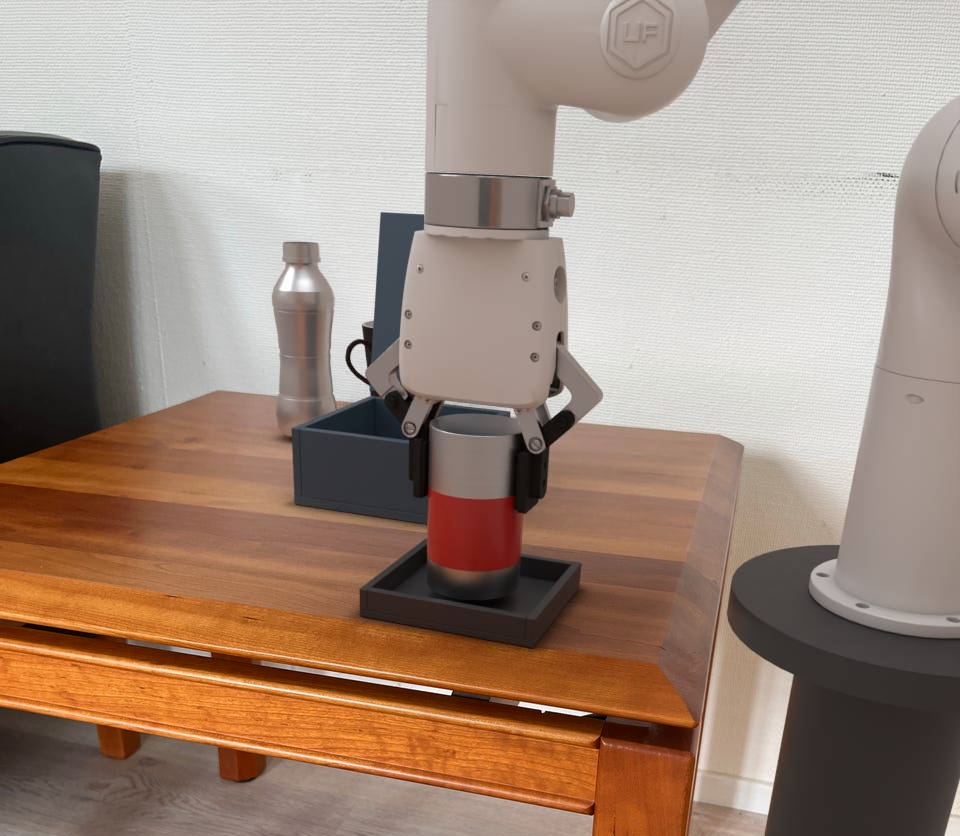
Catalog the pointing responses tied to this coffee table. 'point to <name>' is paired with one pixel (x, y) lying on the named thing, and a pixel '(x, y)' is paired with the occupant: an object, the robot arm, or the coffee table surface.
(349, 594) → the coffee table surface
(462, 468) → the can
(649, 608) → the coffee table surface
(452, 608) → the tray
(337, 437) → the chest
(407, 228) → the lid
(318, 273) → the silver metal bottle
